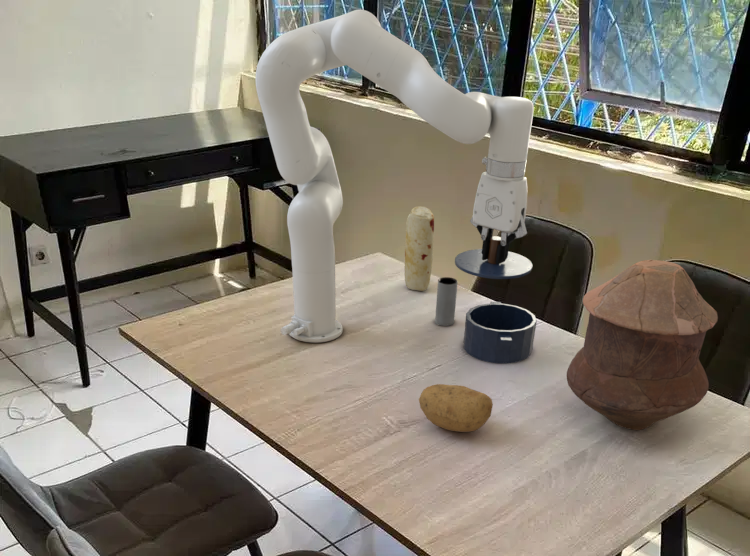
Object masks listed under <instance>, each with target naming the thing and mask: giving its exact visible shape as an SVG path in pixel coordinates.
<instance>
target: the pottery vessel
mask: <svg viewBox="0 0 750 556" xmlns="http://www.w3.org/2000/svg"><path fill="white" fill-rule="evenodd" d="M582 304H583V307H584V308H585V309H586V310H587V312H588V313H589V315H588V316H589V317H588V323H587V327H586V332H585V338H584V341H583V346H582V347H581V348H580V349H579V351H577V353H576V354H575V355H574V357H573V358H572V360H571V362H570V363H569V365H568V367H567V371H566V382H567V385H568V387H569V388H570V390H571V392H572V393H573V394H574V395H575V396H576V397H577V398H578V399H579V400H580V401H582V402H583V403H584V404H585V405H586V406H587V407H589V408H590V409H592V410H593V411H595V412H597V413H599V414H600V415H602V416H604V417H605V418H607V419H608V420H609V421H610V422H612V424H615V425H616V426H619V427H620V428H625V429H628V430H633V431H641V430H645V429H648V428H650V427H651V426H652V425H653V424H655V423H658V422H660V421H664V420H666V419H668V418H671V417H674V416H676V415H678V414H681V413H683V412H685V411H687V410H690V409H692V408H694V407H695V406H696V405H698V404H699V403H700V402H701V401H702V400H703V399H704V398H705V397H706V395H707V393H708V392H709V386H710V384H709V380H708V375H707V373H706V371H705V368H704V367H703V365H702V363H701V361H700V355H701V350H702V348H703V344H704V341H705V337H706V334H707V331H709V330H710V329H711V330H712V329H713V328H714V326H715V325H716V324H717V323H718V319H719V316H718V312H717V310H715V309H714V307H712V305H710V304H709V303H708V302H707V301H706V300H705V299H704V298H703V296H702V295H701V294H700V293H699V291H698V289H697V288H696V285H695V283H694V282H693V280H692V279H691V277H690V276H689V274H688V273H687V271H686V270H685V268H683V266H681V265H680V264H678V263H675V262H673V261H667V260H660V259H659V260H658V259H656V260H655V259H645V260H641V261H637V262H635V263H633V264H632V265H631V266H629V267H628V268H626V269H624V270H623V271H621V272H620V273H618V274H617V275H615V276H614V277H612V278H611V279H609V280H608V281H606V282H604V283H602V284H600V285H598V286H596V287H594V288H592V289H591V290H589V291H588V292H586V293H585V294H584V295H583V298H582Z"/></svg>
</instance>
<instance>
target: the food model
mask: <svg viewBox="0 0 750 556" xmlns="http://www.w3.org/2000/svg"><path fill="white" fill-rule="evenodd" d="M434 240H435V216H434V213H433V212H432V211H431V210H430V208H427V207H426V206H423V205H422V206H420V205H419V206H415V207H413V208H412V209H411V211H410V213H408V216H407V218H406V224H405V241H404V242H405V243H404V244H405V245H404V282H405V286H406V287H407V288H408V290H412V291H420V292H424V291H426V290H428V289H429V286H430V281H431V276H432V269H433V259H434V242H435V241H434Z"/></svg>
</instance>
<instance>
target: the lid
mask: <svg viewBox="0 0 750 556" xmlns="http://www.w3.org/2000/svg"><path fill="white" fill-rule="evenodd" d="M500 243H501V236H498V235H495V236H492V237H491V238H490V245H489V253H488V259H487V260H482V248H477V249H475V248H474V249H469V250H465V251H461V252H460V253H458V254H457V255H456V256H455V258H454V265H455V267H456V268H457V269H459V270H460V271H462V272H464V273H466V274H468V275H471V276H474V277H479V278H484V279H491V280H512V279H519V278H522V277H525V276H527V275H529V274H530V273H531V272H532V270H533V263H532V261H531V260H530V259H529V258H527V257H526V256H525V255H524V256H523V255H521V254H519V253H516V252H512V251H509V250H508V257H507V259H506V260H505V262H503V263H501V264H496V255H497V248H498V245H500Z"/></svg>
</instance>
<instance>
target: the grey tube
mask: <svg viewBox="0 0 750 556" xmlns="http://www.w3.org/2000/svg"><path fill="white" fill-rule="evenodd" d="M458 283H459V282H458V280H457V279H456V278H454V277H449V276H444V277H440V278H439V279H438V280H437V287H436V288H437V290H436V302H435V303H436V305H435V316H434V318H435V319H434V322H435V324H436V325H439V326H442V327H449V326H452V325H454V323H455V317H456V316H455V315H456V305H457V293H458Z"/></svg>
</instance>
